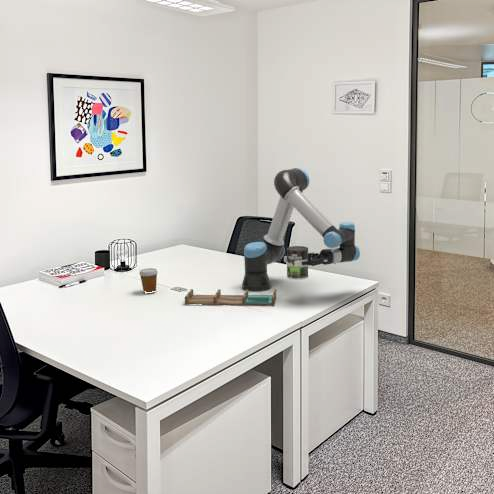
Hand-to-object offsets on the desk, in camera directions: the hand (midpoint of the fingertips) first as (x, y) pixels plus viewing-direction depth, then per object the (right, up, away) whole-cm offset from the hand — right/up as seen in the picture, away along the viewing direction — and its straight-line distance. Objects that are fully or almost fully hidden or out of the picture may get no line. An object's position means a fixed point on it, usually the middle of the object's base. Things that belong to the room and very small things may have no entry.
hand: (289, 261), depth 282 cm
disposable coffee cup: (-71, -17, +29) cm, 79 cm away
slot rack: (-28, -20, +9) cm, 35 cm away
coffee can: (+4, -8, +3) cm, 9 cm away
